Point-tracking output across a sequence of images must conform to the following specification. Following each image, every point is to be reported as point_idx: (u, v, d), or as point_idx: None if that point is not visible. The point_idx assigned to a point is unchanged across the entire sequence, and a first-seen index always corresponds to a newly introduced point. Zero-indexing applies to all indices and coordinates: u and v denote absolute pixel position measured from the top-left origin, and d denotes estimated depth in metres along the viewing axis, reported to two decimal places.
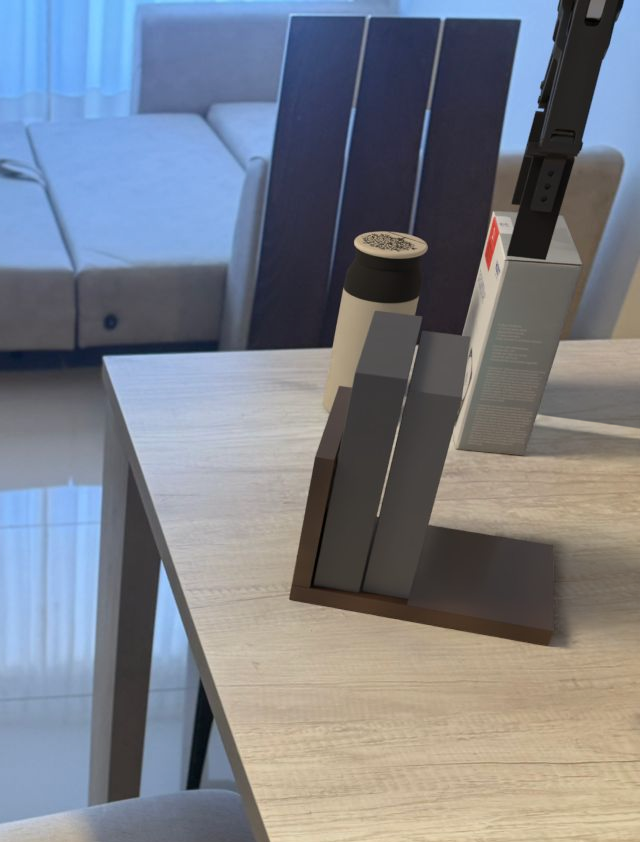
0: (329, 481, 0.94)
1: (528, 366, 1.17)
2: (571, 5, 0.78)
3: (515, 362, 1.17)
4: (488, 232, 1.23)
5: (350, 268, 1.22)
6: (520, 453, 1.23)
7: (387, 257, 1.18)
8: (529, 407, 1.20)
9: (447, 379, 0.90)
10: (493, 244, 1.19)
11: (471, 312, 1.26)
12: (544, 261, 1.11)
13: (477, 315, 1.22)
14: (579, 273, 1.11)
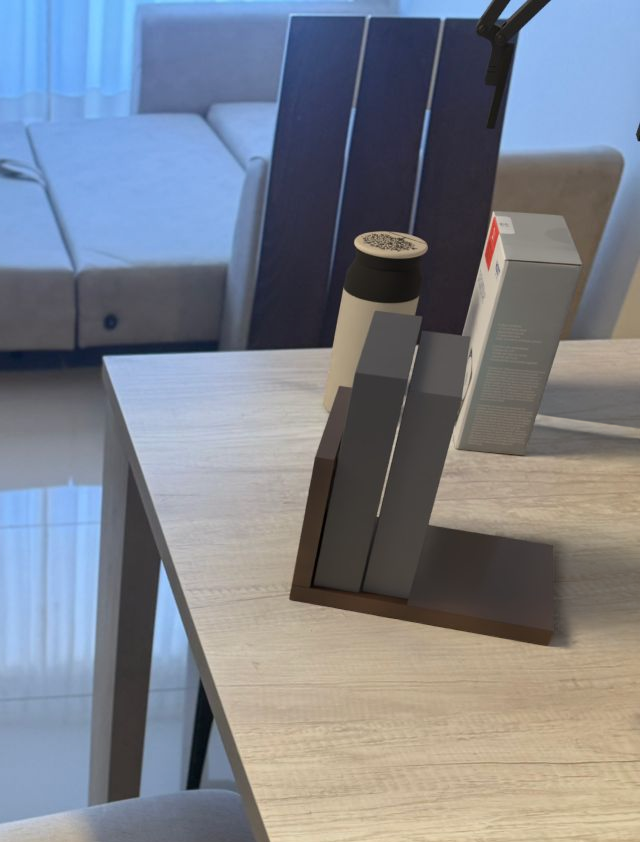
0: (329, 481, 0.94)
1: (528, 366, 1.17)
2: None
3: (515, 362, 1.17)
4: (488, 232, 1.23)
5: (350, 268, 1.22)
6: (520, 453, 1.23)
7: (387, 257, 1.18)
8: (529, 407, 1.20)
9: (447, 379, 0.90)
10: (493, 244, 1.19)
11: (471, 312, 1.26)
12: (544, 261, 1.11)
13: (477, 315, 1.22)
14: (579, 273, 1.11)
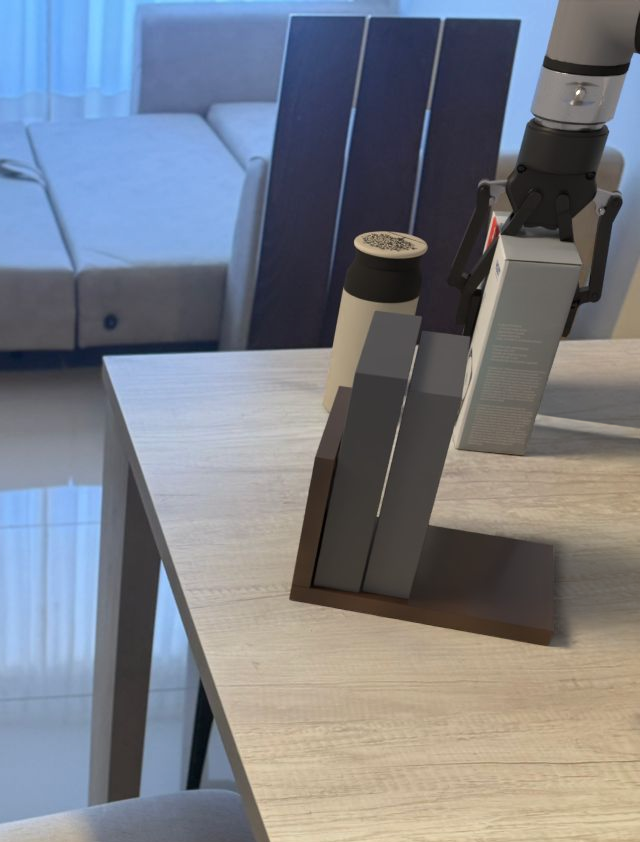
0: (329, 481, 0.94)
1: (528, 366, 1.17)
2: (571, 203, 1.12)
3: (515, 362, 1.17)
4: (488, 232, 1.23)
5: (350, 268, 1.22)
6: (520, 453, 1.23)
7: (387, 257, 1.18)
8: (529, 407, 1.20)
9: (447, 379, 0.90)
10: None
11: None
12: (544, 260, 1.11)
13: (477, 315, 1.22)
14: (579, 273, 1.11)
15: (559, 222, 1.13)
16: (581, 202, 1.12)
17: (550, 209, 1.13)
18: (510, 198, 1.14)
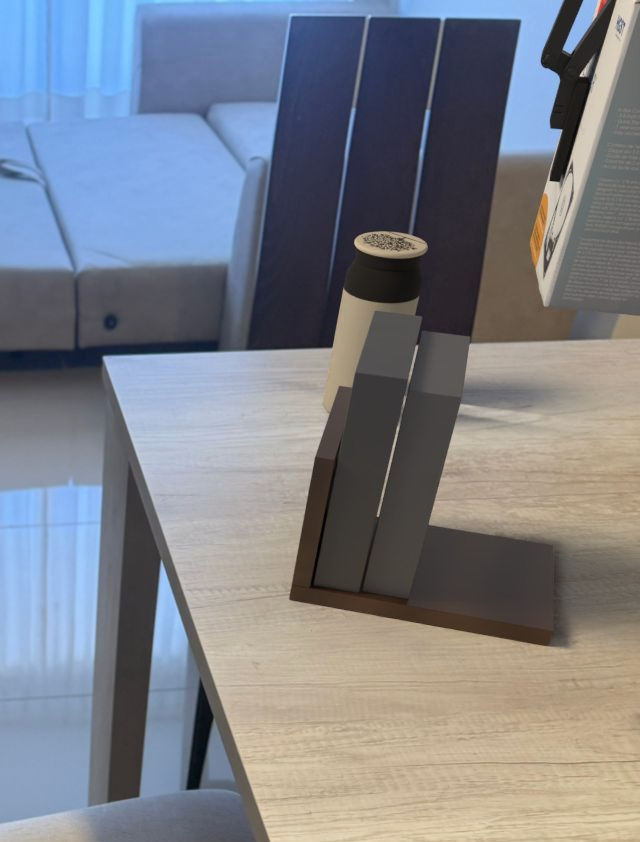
0: (329, 481, 0.94)
1: None
2: None
3: None
4: None
5: (350, 268, 1.22)
6: (637, 313, 0.87)
7: (387, 257, 1.18)
8: None
9: (447, 379, 0.90)
10: None
11: None
12: None
13: (581, 113, 0.86)
14: None
15: None
16: None
17: None
18: None
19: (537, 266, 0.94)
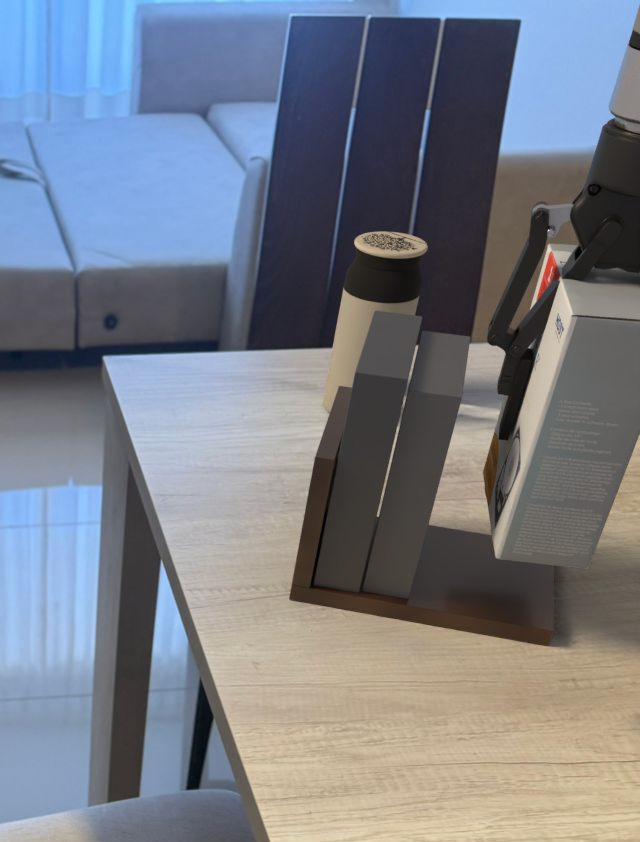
0: (329, 481, 0.94)
1: (599, 455, 0.86)
2: None
3: (581, 451, 0.86)
4: (541, 271, 0.92)
5: (350, 268, 1.22)
6: (583, 566, 0.92)
7: (387, 257, 1.18)
8: (597, 508, 0.89)
9: (447, 379, 0.90)
10: None
11: None
12: (626, 317, 0.80)
13: (527, 383, 0.91)
14: None
15: None
16: None
17: (632, 245, 0.82)
18: (577, 229, 0.83)
19: (489, 507, 0.99)
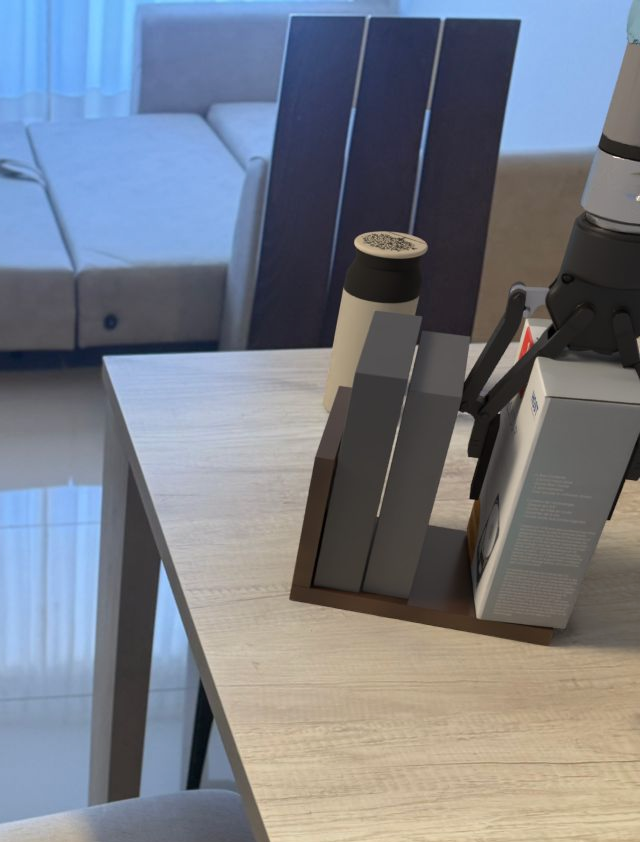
0: (329, 481, 0.94)
1: (573, 525, 0.90)
2: (632, 323, 0.85)
3: (557, 520, 0.90)
4: (519, 344, 0.96)
5: (350, 268, 1.22)
6: (560, 626, 0.96)
7: (387, 257, 1.18)
8: (573, 573, 0.93)
9: (447, 379, 0.90)
10: None
11: (497, 442, 0.99)
12: (597, 398, 0.84)
13: (505, 452, 0.95)
14: None
15: (620, 346, 0.86)
16: None
17: (604, 329, 0.86)
18: (552, 314, 0.87)
19: (472, 566, 1.03)
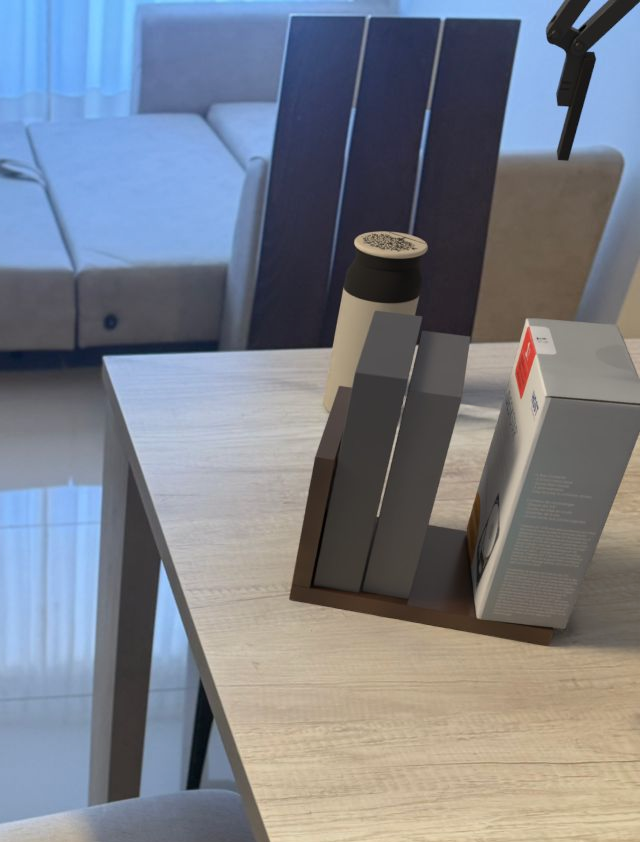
0: (329, 481, 0.94)
1: (574, 525, 0.90)
2: None
3: (557, 520, 0.90)
4: (520, 344, 0.96)
5: (350, 268, 1.22)
6: (560, 626, 0.96)
7: (387, 257, 1.18)
8: (573, 573, 0.93)
9: (447, 379, 0.90)
10: (527, 365, 0.92)
11: (497, 442, 0.99)
12: (597, 398, 0.84)
13: (506, 452, 0.95)
14: None
15: None
16: None
17: None
18: None
19: (472, 565, 1.03)
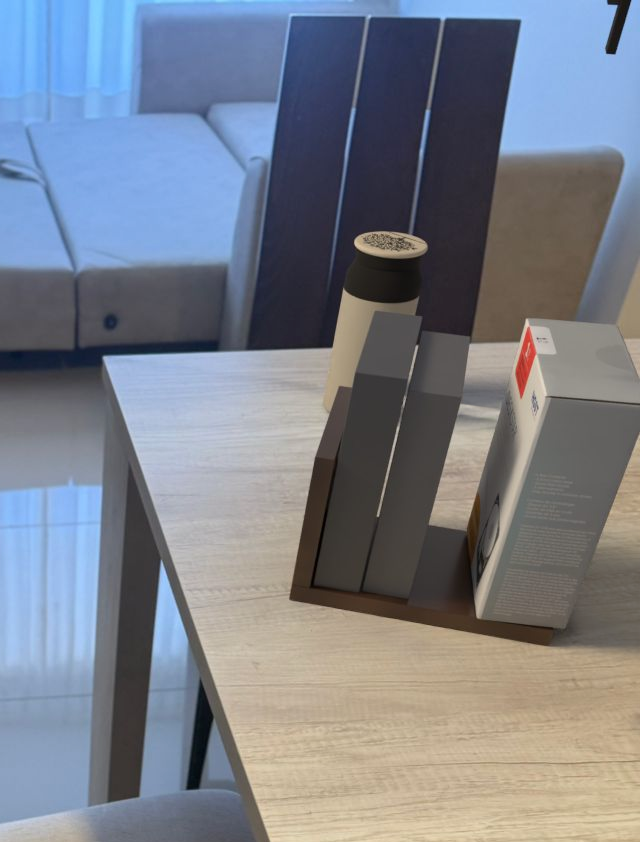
0: (329, 481, 0.94)
1: (574, 525, 0.90)
2: None
3: (557, 520, 0.90)
4: (520, 344, 0.96)
5: (350, 268, 1.22)
6: (560, 626, 0.96)
7: (387, 257, 1.18)
8: (573, 573, 0.93)
9: (447, 379, 0.90)
10: (527, 365, 0.92)
11: (497, 442, 0.99)
12: (597, 398, 0.84)
13: (506, 452, 0.95)
14: None
15: None
16: None
17: None
18: None
19: (472, 565, 1.03)
